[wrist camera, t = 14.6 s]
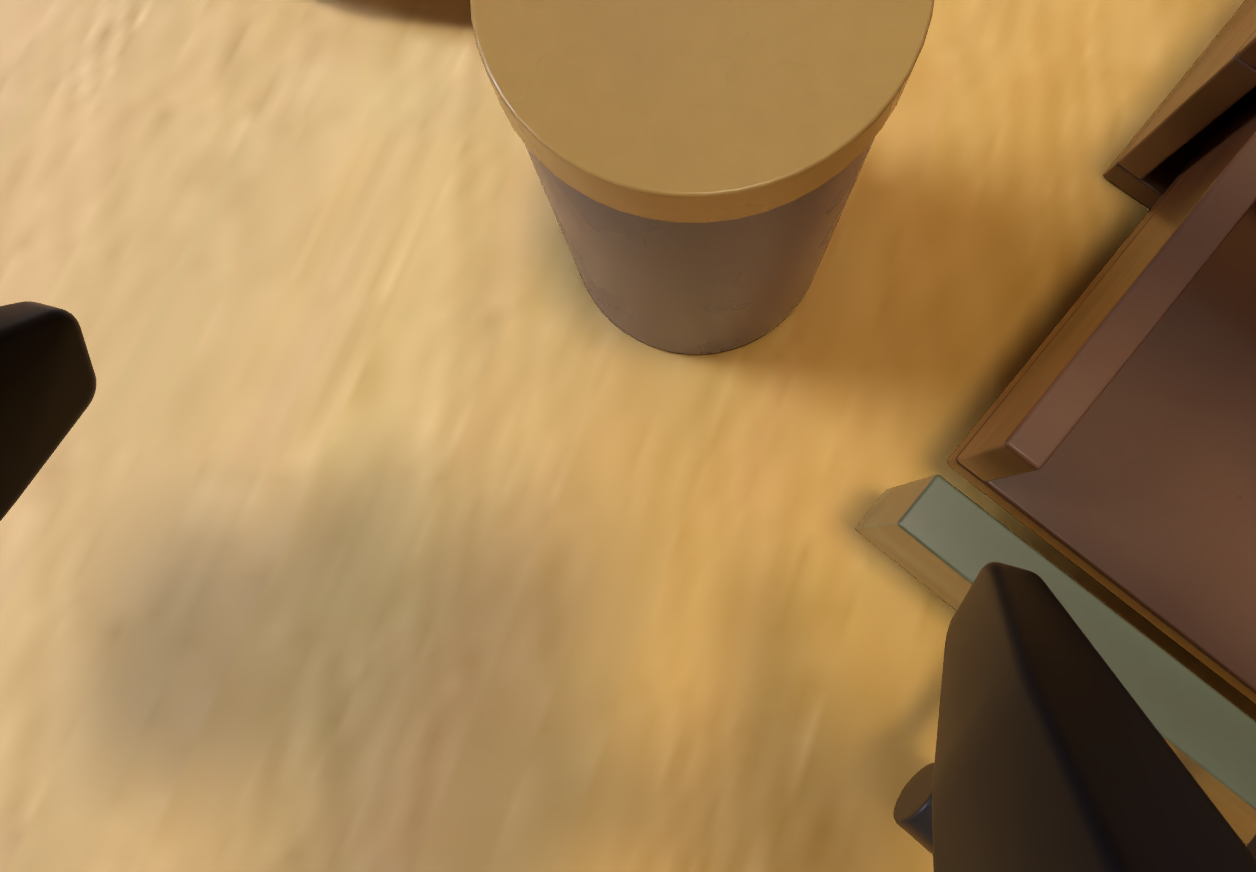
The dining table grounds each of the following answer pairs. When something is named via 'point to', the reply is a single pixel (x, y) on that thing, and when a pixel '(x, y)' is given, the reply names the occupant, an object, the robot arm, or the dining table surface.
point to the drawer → (1130, 474)
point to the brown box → (1191, 111)
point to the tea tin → (698, 143)
